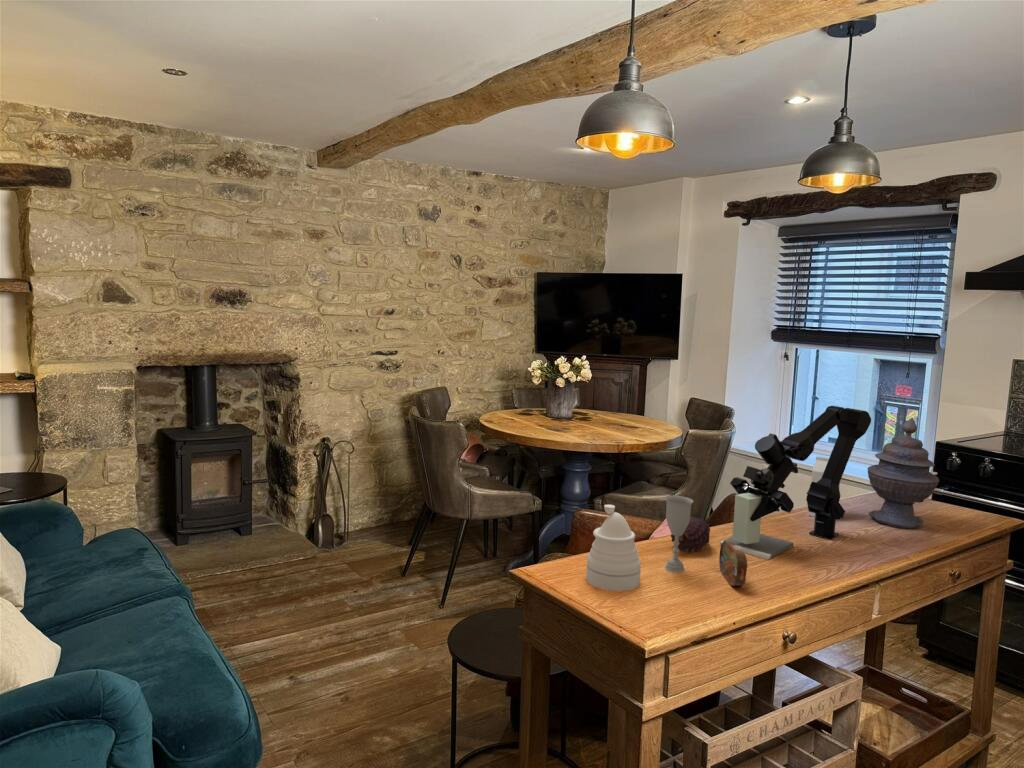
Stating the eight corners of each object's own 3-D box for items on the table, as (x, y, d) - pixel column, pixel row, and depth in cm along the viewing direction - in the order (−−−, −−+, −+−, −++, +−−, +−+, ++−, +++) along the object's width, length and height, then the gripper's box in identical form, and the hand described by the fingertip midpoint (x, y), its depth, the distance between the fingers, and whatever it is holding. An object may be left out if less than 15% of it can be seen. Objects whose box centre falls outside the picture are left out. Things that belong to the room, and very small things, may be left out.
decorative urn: (844, 512, 230) (864, 409, 225) (889, 512, 237) (909, 412, 233) (897, 535, 212) (920, 423, 207) (943, 534, 219) (966, 425, 214)
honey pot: (575, 580, 169) (578, 507, 167) (604, 566, 179) (608, 497, 177) (621, 596, 161) (625, 519, 159) (649, 580, 171) (653, 508, 169)
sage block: (745, 536, 198) (748, 492, 196) (759, 541, 194) (762, 497, 192) (732, 538, 196) (735, 494, 194) (745, 544, 191) (749, 499, 190)
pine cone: (683, 535, 204) (705, 510, 201) (707, 561, 198) (730, 535, 195) (652, 532, 191) (675, 505, 189) (677, 559, 185) (700, 532, 182)
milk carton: (831, 520, 224) (836, 462, 222) (808, 515, 228) (813, 458, 226) (836, 515, 230) (842, 458, 227) (814, 511, 234) (818, 454, 232)
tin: (717, 567, 180) (719, 535, 180) (729, 568, 180) (732, 536, 179) (733, 591, 166) (736, 557, 165) (747, 592, 165) (749, 557, 164)
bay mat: (746, 533, 208) (746, 530, 208) (793, 546, 199) (793, 542, 198) (719, 545, 197) (719, 542, 197) (767, 559, 187) (768, 555, 187)
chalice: (655, 565, 180) (659, 496, 178) (677, 562, 183) (681, 494, 181) (672, 575, 174) (676, 504, 172) (694, 572, 176) (699, 502, 174)
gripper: (737, 449, 202) (705, 490, 198) (789, 463, 185) (756, 509, 182) (755, 473, 206) (724, 514, 203) (808, 489, 190) (775, 534, 186)
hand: (743, 517), depth 193 cm, fingers closed on sage block, 5 cm apart
